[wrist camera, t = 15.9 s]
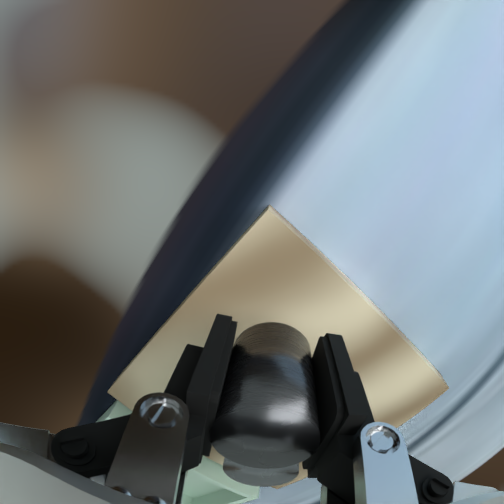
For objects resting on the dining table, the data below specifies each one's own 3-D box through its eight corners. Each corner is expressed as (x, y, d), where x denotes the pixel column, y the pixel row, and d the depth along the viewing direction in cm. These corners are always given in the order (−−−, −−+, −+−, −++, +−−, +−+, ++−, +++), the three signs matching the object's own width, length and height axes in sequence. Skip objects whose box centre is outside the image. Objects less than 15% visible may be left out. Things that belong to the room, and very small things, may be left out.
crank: (294, 454, 15) (292, 537, 9) (230, 449, 15) (213, 531, 9) (324, 296, 12) (355, 410, 6) (226, 290, 12) (180, 399, 6)
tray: (260, 474, 19) (258, 498, 16) (195, 496, 21) (190, 514, 19) (123, 393, 17) (108, 416, 15) (86, 431, 20) (75, 448, 17)
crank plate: (440, 373, 14) (449, 388, 13) (278, 475, 18) (277, 489, 17) (269, 204, 13) (267, 209, 11) (117, 378, 17) (107, 391, 15)
